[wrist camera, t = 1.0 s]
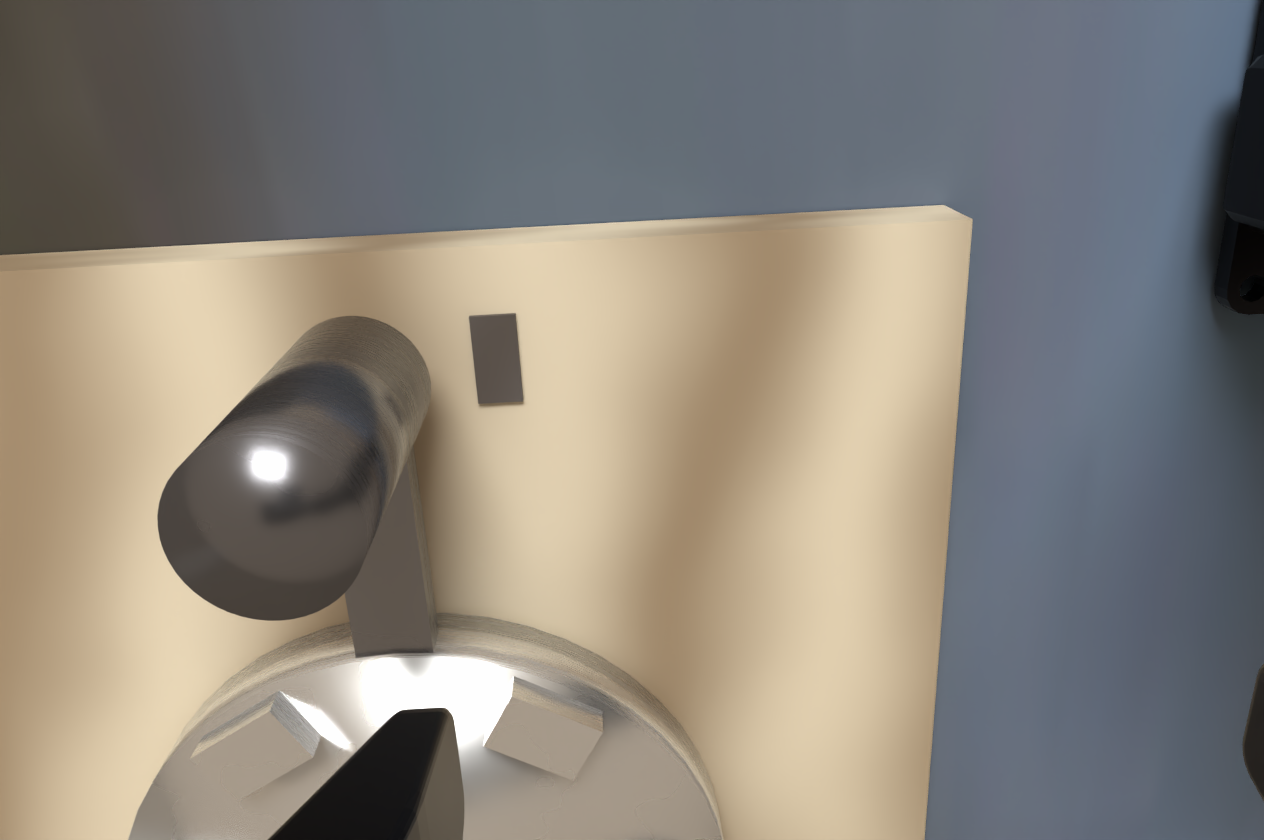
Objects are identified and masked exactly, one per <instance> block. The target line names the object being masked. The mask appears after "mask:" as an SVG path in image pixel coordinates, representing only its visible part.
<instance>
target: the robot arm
mask: <svg viewBox="0 0 1264 840" xmlns="http://www.w3.org/2000/svg"><path fill="white" fill-rule="evenodd" d="M1224 209H1225V211H1226V212H1227V215H1226V221H1225V227H1224V233H1223V239H1222V245H1221V251H1220V257H1219V262H1218V268H1217V274H1216V280H1215V296H1216V298H1217V299H1218V301H1219V303H1220V304H1222V305H1223V306H1225V307H1226V308H1228V309H1231V310H1233V311H1235V312H1238V313H1242V314H1248V315H1250V314H1264V0H1263V3H1262V9H1261V15H1260V21H1259V27H1258V33H1257V39H1256V44H1255V50H1254V56H1253V62H1252V64H1251V66H1250V67H1249V68H1248V69H1247V70H1246V73H1245V79H1244V85H1243V91H1242V97H1241V103H1240V109H1239V115H1238V121H1237V127H1236V133H1235V139H1234V145H1233V150H1232V156H1231V162H1230V168H1229V174H1228V180H1227V186H1226V192H1225V198H1224ZM1251 276H1254V284H1253V286H1252V289H1251V290H1250V291H1249V292H1248V293H1247V294H1245V295H1243V296H1240V288H1241V286H1242V283H1243V282H1244V281H1245V280H1246V279H1247V278H1248V277H1251ZM1243 756H1244V761H1245V765H1246V768H1247V770H1248V773H1249V775H1250V777H1251V779H1252V781H1253V783H1254V785H1255V786H1256V788H1257V790H1258V792H1259V794H1260V795H1261V797H1262V799H1263V801H1264V664H1263V665H1262V667H1261V668H1260V669H1259V672H1258V675H1257V678H1256V683H1255V687H1254V692H1253V696H1252V701H1251V705H1250V710H1249V715H1248V719H1247V724H1246V728H1245V733H1244V737H1243ZM463 829H464V790H463V782H462V774H461V767H460V759H459V752H458V744H457V737H456V729H455V723H454V718H453V715H452V714H451V712H450V711H449V710H448V709H447V708H445V707H435V708H417V709H404V710H400V711H398V712H396V713H395V714H394V715H392V716H391V717H390V718H389V719H388V720H387V721H386V722H385V723H384V724H383V725H382V726H381V727H380V728H379V729H378V730H377V731H376V732H375V733H374V734H373V735H372V736H371V737H370V738H369V739H368V740H367V741H366V742H365V743H364V744H363V745H362V746H361V747H360V748H359V749H358V750H357V751H356V752H355V753H354V754H353V755H352V756H351V757H350V758H349V759H348V760H347V761H346V762H345V763H344V764H343V765H342V766H341V767H340V768H339V769H338V770H337V771H336V772H335V773H334V774H333V775H332V776H331V777H330V778H329V779H328V780H327V781H326V782H325V783H324V784H323V785H322V786H321V787H320V788H319V789H318V790H317V791H316V792H315V793H314V794H313V795H312V796H311V797H310V798H309V799H308V800H307V801H306V802H305V803H304V804H303V805H302V806H301V807H300V808H299V809H298V810H297V811H296V812H295V813H294V814H293V815H292V816H291V817H290V818H289V819H288V820H287V821H286V822H285V823H284V824H283V825H282V826H280V827H279V828H278V829H277V830H276V831H275V832H274V833H273V834H272V835H271V836H270V837H269V838H268V839H267V840H463Z"/></svg>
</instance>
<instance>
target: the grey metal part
mask: <svg viewBox="0 0 1264 840" xmlns="http://www.w3.org/2000/svg"><path fill="white" fill-rule="evenodd" d="M430 400H431V380H430V375H429V371H428V368H427V365H426V363H425V361H424V359H423V357H422V355H421V354H420V352H419V351H418V349H417V348H416V346H415V345H414V344H413V343H412V342H411V341H410V340H409V339H408V338H407V337H406V336H405V335H404V334H402V333H401V332H400V331H398V330H397V329H395V328H394V327H392V326H390V325H388V324H386V323H384V322H381V321H379V320H376V319H372V318H368V317H362V316H341V317H336V318H332V319H328V320H325V321H323V322H320V323H318V324H317V325H315V326H313V327H312V328H310V329H309V330H308V331H306V332H305V333H304V334H303V335H302V336H301V337H300V338H299V339H298V340H297V341H296V342H295V343H294V345H293V346H292V347H291V348H290V349H289V350H288V351H287V352H286V353H285V354H284V355H283V356H282V357H281V358H280V359H279V360H278V362H277V363H276V364H275V365H274V366H273V367H272V368H271V369H270V370H269V371H268V372H267V373H266V374H265V375H264V376H263V378H262V379H261V380H260V381H259V382H258V383H257V384H256V385H255V386H254V387H253V388H252V389H251V390H250V391H249V392H248V393H247V395H246V396H245V397H244V398H243V399H242V400H241V401H240V402H239V403H238V404H237V405H236V406H235V407H234V408H233V409H232V411H231V412H230V413H229V414H228V415H227V416H226V417H225V418H224V419H223V420H222V421H221V422H220V423H219V424H218V425H217V426H216V428H215V429H214V430H213V431H212V432H211V433H210V434H209V435H208V436H207V437H206V438H205V439H204V440H203V441H202V442H201V443H200V445H199V446H198V447H197V448H196V449H195V450H194V451H193V452H192V453H191V454H190V455H189V456H188V457H187V458H186V459H185V461H184V462H183V463H182V464H181V465H180V466H179V467H178V468H177V469H176V470H175V471H174V473H173V474H172V475H171V477H170V478H169V480H168V481H167V483H166V485H165V487H164V490H163V492H162V495H161V498H160V502H159V507H158V514H157V520H158V532H159V538H160V542H161V545H162V548H163V551H164V553H165V555H166V557H167V559H168V561H169V563H170V565H171V566H172V568H173V569H174V571H175V572H176V574H177V575H178V576H179V577H180V578H181V580H182V581H183V582H184V583H185V584H186V585H187V586H188V587H189V588H190V589H191V590H192V591H193V592H195V593H196V594H197V595H199V596H200V597H201V598H203V599H204V600H206V601H207V602H209V603H211V604H212V605H214V606H216V607H218V608H220V609H222V610H224V611H227V612H229V613H232V614H235V615H238V616H241V617H246V618H250V619H256V620H265V621H282V620H290V619H296V618H300V617H305V616H308V615H310V614H313V613H316V612H318V611H320V610H322V609H324V608H326V607H328V606H329V605H331V604H332V603H333V602H335V601H336V600H338V599H339V598H340V597H341V596H342V595H343V594H344V593H345V599H346V605H347V610H348V616H349V622H347V623H342V624H338V625H334V626H330V627H326V628H324V629H321V630H318V631H316V632H313V633H310V634H307V635H305V636H302V637H299V638H297V639H294V640H291V641H289V642H287V643H286V644H284V645H282V646H280V647H278V648H276V649H274V650H272V651H270V652H268V653H266V654H264V655H263V656H261V657H259V658H257V659H256V660H254V661H253V662H252V663H250V664H249V665H247V666H246V667H244V668H243V669H242V670H240V671H239V672H237V673H236V674H235V675H233V676H232V677H230V678H229V679H228V680H227V681H226V682H225V683H224V684H223V685H222V686H221V687H219V688H218V689H217V690H216V691H215V692H214V693H213V694H212V695H211V696H210V697H209V698H208V699H207V700H206V701H205V702H204V703H203V704H202V705H201V707H200V708H199V709H198V711H197V712H196V713H195V715H194V716H193V717H192V718H191V720H190V721H189V722H188V724H187V725H186V726H185V727H184V729H183V731H182V732H181V734H180V736H179V738H178V739H177V741H176V743H175V744H174V746H173V748H172V750H171V751H170V753H169V755H168V757H167V758H166V760H165V762H164V763H163V765H162V767H161V769H160V770H159V772H158V774H157V776H156V777H155V779H154V781H153V783H152V784H151V786H150V788H149V790H148V792H147V794H146V796H145V797H144V799H143V801H142V803H141V805H140V807H139V809H138V811H137V814H136V817H135V820H134V823H133V826H132V829H131V832H130V835H129V838H128V840H267V839H268V838H269V837H270V836H271V835H272V834H273V833H274V832H275V831H276V830H277V829H278V828H279V827H280V826H282V825H283V824H284V823H285V822H286V821H287V820H288V819H289V818H290V817H291V816H292V815H293V814H294V813H295V812H296V811H297V810H298V809H299V808H300V807H301V806H302V805H303V804H304V803H305V802H306V801H307V800H308V799H309V798H310V797H311V796H312V795H313V794H314V793H315V792H316V791H317V790H318V789H319V788H320V787H321V786H322V785H323V784H324V783H325V782H326V781H327V780H328V779H329V778H330V777H331V776H332V775H333V774H334V773H335V772H336V771H337V770H338V769H339V768H340V767H341V766H342V765H343V764H344V763H345V762H346V761H347V760H348V759H349V758H350V757H351V756H352V755H353V754H354V753H355V752H356V751H357V750H358V749H359V748H360V747H361V746H362V745H363V744H364V743H365V742H366V741H367V740H368V739H369V738H370V737H371V736H372V735H373V734H374V733H375V732H376V731H377V730H378V729H379V728H380V727H381V726H382V725H383V724H384V723H385V722H386V721H387V720H388V719H389V718H390V717H391V716H392V715H394V714H395V713H396V712H398V711H400V710H404V709H417V708H435V707H445V708H447V709H448V710H449V711H450V712H451V714H452V715H453V718H454V723H455V729H456V737H457V744H458V752H459V759H460V767H461V774H462V782H463V790H464V829H463V840H724V839H723V833H722V827H721V821H720V815H719V809H718V804H717V801H716V797H715V793H714V790H713V786H712V783H711V779H710V776H709V774H708V772H707V770H706V768H705V765H704V763H703V761H702V759H701V757H700V754H699V752H698V750H697V749H696V747H695V745H694V744H693V742H692V741H691V739H690V738H689V736H688V735H687V733H686V732H685V730H684V729H683V727H682V726H681V724H680V723H679V722H678V721H677V720H676V718H675V717H674V716H673V715H672V714H671V713H670V712H669V711H668V709H667V708H666V707H665V706H664V705H663V704H662V703H661V702H660V701H659V699H658V698H657V697H655V696H654V695H653V694H652V693H651V692H650V691H648V690H647V689H646V688H645V687H644V686H642V685H641V684H640V683H639V682H638V681H637V680H635V679H634V678H633V677H632V676H631V675H629V674H628V673H626V672H625V671H623V670H621V669H620V668H618V667H617V666H615V665H614V664H612V663H611V662H609V661H608V660H606V659H604V658H603V657H601V656H600V655H598V654H596V653H594V652H592V651H589V650H587V649H585V648H583V647H581V646H579V645H577V644H575V643H573V642H571V641H569V640H567V639H564V638H562V637H559V636H556V635H553V634H550V633H547V632H544V631H541V630H538V629H536V628H533V627H530V626H526V625H522V624H517V623H513V622H508V621H504V620H499V619H495V618H490V617H483V616H474V615H464V614H455V613H436V606H435V599H434V592H433V584H432V577H431V570H430V562H429V555H428V548H427V540H426V533H425V526H424V518H423V511H422V504H421V496H420V489H419V482H418V474H417V467H416V460H415V452H414V445H413V444H414V442H415V440H416V437H417V435H418V433H419V430H420V428H421V426H422V423H423V421H424V419H425V416H426V414H427V411H428V408H429V404H430Z"/></svg>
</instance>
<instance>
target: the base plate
mask: <svg viewBox="0 0 1264 840" xmlns="http://www.w3.org/2000/svg"><path fill="white" fill-rule="evenodd" d="M972 221H973V219H971V218H969V217H967V216H965V215H963V214H961V213H959V212H957V211H955V210H953V209H951V208H949V207H947V206H945V205H935V206H916V207H898V208H879V209H860V210H841V211H823V212H804V213H785V214H766V215H748V216H729V217H710V218H691V219H672V220H654V221H635V222H616V223H597V224H579V225H560V226H541V227H522V228H504V229H485V230H466V231H447V232H428V233H410V234H391V235H372V236H353V237H335V238H316V239H297V240H278V241H260V242H241V243H222V244H203V245H185V246H166V247H147V248H128V249H109V250H91V251H72V252H53V253H34V254H16V255H0V840H128V838H129V835H130V832H131V829H132V826H133V823H134V820H135V817H136V814H137V811H138V809H139V807H140V805H141V803H142V801H143V799H144V797H145V796H146V794H147V792H148V790H149V788H150V786H151V784H152V783H153V781H154V779H155V777H156V776H157V774H158V772H159V770H160V769H161V767H162V765H163V763H164V762H165V760H166V758H167V757H168V755H169V753H170V751H171V750H172V748H173V746H174V744H175V743H176V741H177V739H178V738H179V736H180V734H181V732H182V731H183V729H184V727H185V726H186V725H187V724H188V722H189V721H190V720H191V718H192V717H193V716H194V715H195V713H196V712H197V711H198V709H199V708H200V707H201V705H202V704H203V703H204V702H205V701H206V700H207V699H208V698H209V697H210V696H211V695H212V694H213V693H214V692H215V691H216V690H217V689H218V688H219V687H221V686H222V685H223V684H224V683H225V682H226V681H227V680H228V679H229V678H230V677H232V676H233V675H235V674H236V673H237V672H239V671H240V670H242V669H243V668H244V667H246V666H247V665H249V664H250V663H252V662H253V661H254V660H256V659H257V658H259V657H261V656H263V655H264V654H266V653H268V652H270V651H272V650H274V649H276V648H278V647H280V646H282V645H284V644H286V643H287V642H289V641H291V640H294V639H297V638H299V637H302V636H305V635H307V634H310V633H313V632H316V631H318V630H321V629H324V628H326V627H330V626H334V625H338V624H342V623H347V622H349V616H348V610H347V605H346V599H345V593H344V594H343V595H342V596H341V597H340V598H339V599H338V600H336V601H335V602H333V603H332V604H331V605H329V606H328V607H326V608H324V609H322V610H320V611H318V612H316V613H313V614H310V615H308V616H305V617H300V618H296V619H290V620H282V621H265V620H256V619H250V618H246V617H241V616H238V615H235V614H232V613H229V612H227V611H224V610H222V609H220V608H218V607H216V606H214V605H212V604H211V603H209V602H207V601H206V600H204V599H203V598H201V597H200V596H199V595H197V594H196V593H195V592H193V591H192V590H191V589H190V588H189V587H188V586H187V585H186V584H185V583H184V582H183V581H182V580H181V578H180V577H179V576H178V575H177V574H176V572H175V571H174V569H173V568H172V566H171V565H170V563H169V561H168V559H167V557H166V555H165V553H164V551H163V548H162V545H161V542H160V538H159V532H158V520H157V514H158V507H159V502H160V498H161V495H162V492H163V490H164V487H165V485H166V483H167V481H168V480H169V478H170V477H171V475H172V474H173V473H174V471H175V470H176V469H177V468H178V467H179V466H180V465H181V464H182V463H183V462H184V461H185V459H186V458H187V457H188V456H189V455H190V454H191V453H192V452H193V451H194V450H195V449H196V448H197V447H198V446H199V445H200V443H201V442H202V441H203V440H204V439H205V438H206V437H207V436H208V435H209V434H210V433H211V432H212V431H213V430H214V429H215V428H216V426H217V425H218V424H219V423H220V422H221V421H222V420H223V419H224V418H225V417H226V416H227V415H228V414H229V413H230V412H231V411H232V409H233V408H234V407H235V406H236V405H237V404H238V403H239V402H240V401H241V400H242V399H243V398H244V397H245V396H246V395H247V393H248V392H249V391H250V390H251V389H252V388H253V387H254V386H255V385H256V384H257V383H258V382H259V381H260V380H261V379H262V378H263V376H264V375H265V374H266V373H267V372H268V371H269V370H270V369H271V368H272V367H273V366H274V365H275V364H276V363H277V362H278V360H279V359H280V358H281V357H282V356H283V355H284V354H285V353H286V352H287V351H288V350H289V349H290V348H291V347H292V346H293V345H294V343H295V342H296V341H297V340H298V339H299V338H300V337H301V336H302V335H303V334H304V333H305V332H306V331H308V330H309V329H310V328H312V327H313V326H315V325H317V324H318V323H320V322H323V321H325V320H328V319H332V318H336V317H341V316H362V317H368V318H372V319H376V320H379V321H381V322H384V323H386V324H388V325H390V326H392V327H394V328H395V329H397V330H398V331H400V332H401V333H402V334H404V335H405V336H406V337H407V338H408V339H409V340H410V341H411V342H412V343H413V344H414V345H415V346H416V348H417V349H418V351H419V352H420V354H421V355H422V357H423V359H424V361H425V363H426V365H427V368H428V371H429V375H430V380H431V400H430V404H429V408H428V411H427V414H426V416H425V419H424V421H423V423H422V426H421V428H420V430H419V433H418V435H417V437H416V440H415V442H414V444H413V445H414V452H415V460H416V467H417V474H418V482H419V489H420V496H421V504H422V511H423V518H424V526H425V533H426V540H427V548H428V555H429V562H430V570H431V577H432V584H433V592H434V599H435V606H436V613H455V614H464V615H474V616H483V617H490V618H495V619H499V620H504V621H508V622H513V623H517V624H522V625H526V626H530V627H533V628H536V629H538V630H541V631H544V632H547V633H550V634H553V635H556V636H559V637H562V638H564V639H567V640H569V641H571V642H573V643H575V644H577V645H579V646H581V647H583V648H585V649H587V650H589V651H592V652H594V653H596V654H598V655H600V656H601V657H603V658H604V659H606V660H608V661H609V662H611V663H612V664H614V665H615V666H617V667H618V668H620V669H621V670H623V671H625V672H626V673H628V674H629V675H631V676H632V677H633V678H634V679H635V680H637V681H638V682H639V683H640V684H641V685H642V686H644V687H645V688H646V689H647V690H648V691H650V692H651V693H652V694H653V695H654V696H655V697H657V698H658V699H659V701H660V702H661V703H662V704H663V705H664V706H665V707H666V708H667V709H668V711H669V712H670V713H671V714H672V715H673V716H674V717H675V718H676V720H677V721H678V722H679V723H680V724H681V726H682V727H683V729H684V730H685V732H686V733H687V735H688V736H689V738H690V739H691V741H692V742H693V744H694V745H695V747H696V749H697V750H698V752H699V754H700V757H701V759H702V761H703V763H704V765H705V768H706V770H707V772H708V774H709V776H710V779H711V783H712V786H713V790H714V793H715V797H716V801H717V804H718V809H719V815H720V821H721V827H722V833H723V839H724V840H924V838H925V825H926V812H927V799H928V786H929V773H930V761H931V748H932V735H933V722H934V709H935V696H936V683H937V671H938V658H939V645H940V632H941V619H942V606H943V594H944V581H945V568H946V555H947V542H948V529H949V516H950V504H951V491H952V478H953V465H954V452H955V439H956V427H957V414H958V401H959V388H960V375H961V362H962V349H963V337H964V324H965V311H966V298H967V285H968V272H969V260H970V247H971V234H972Z"/></svg>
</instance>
